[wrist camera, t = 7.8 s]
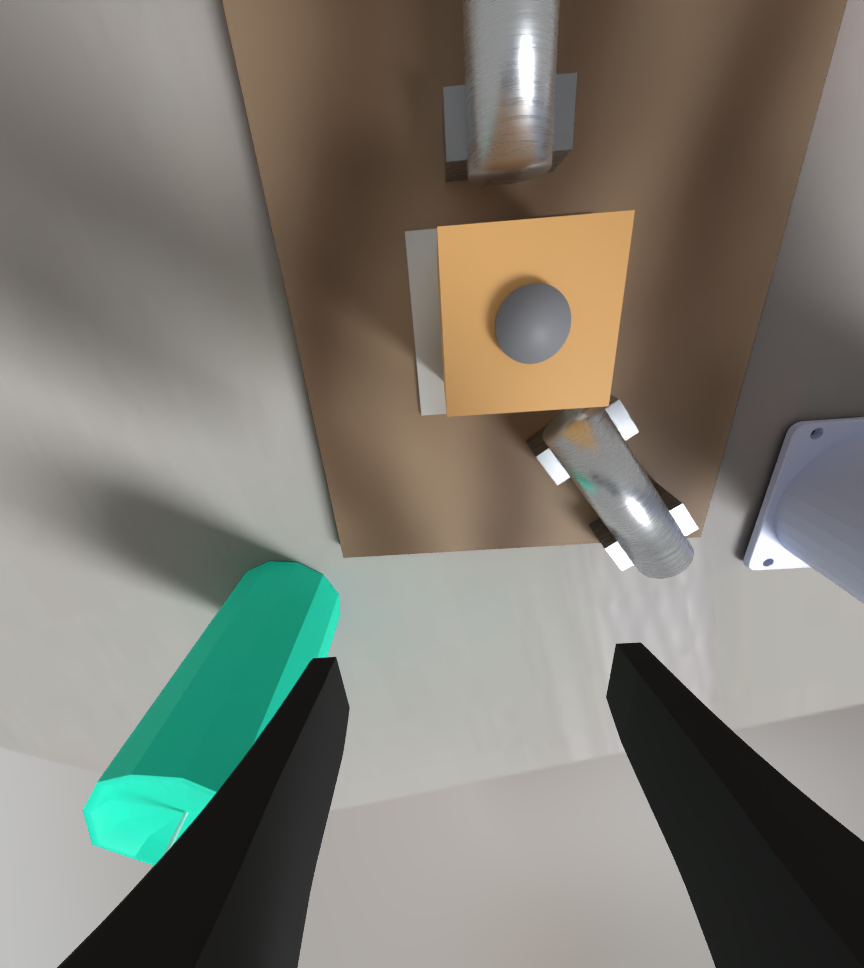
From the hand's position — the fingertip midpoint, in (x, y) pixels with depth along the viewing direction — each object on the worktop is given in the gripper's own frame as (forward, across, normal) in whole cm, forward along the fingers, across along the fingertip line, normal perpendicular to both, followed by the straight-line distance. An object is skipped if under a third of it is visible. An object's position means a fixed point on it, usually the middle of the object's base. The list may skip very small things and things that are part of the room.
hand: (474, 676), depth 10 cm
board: (+10, -3, -9) cm, 14 cm away
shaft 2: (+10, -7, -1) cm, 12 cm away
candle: (+10, +10, +6) cm, 15 cm away
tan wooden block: (+9, -2, -8) cm, 12 cm away
